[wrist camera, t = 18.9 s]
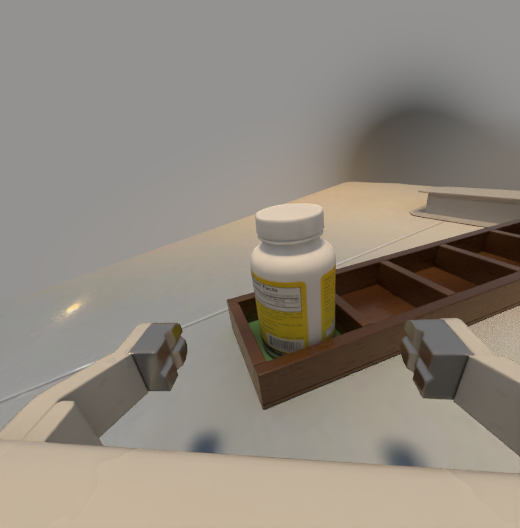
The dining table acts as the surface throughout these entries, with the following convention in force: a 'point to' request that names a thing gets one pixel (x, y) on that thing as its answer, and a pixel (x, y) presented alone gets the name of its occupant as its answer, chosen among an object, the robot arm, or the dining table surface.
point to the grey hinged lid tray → (470, 205)
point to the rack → (388, 308)
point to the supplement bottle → (293, 278)
